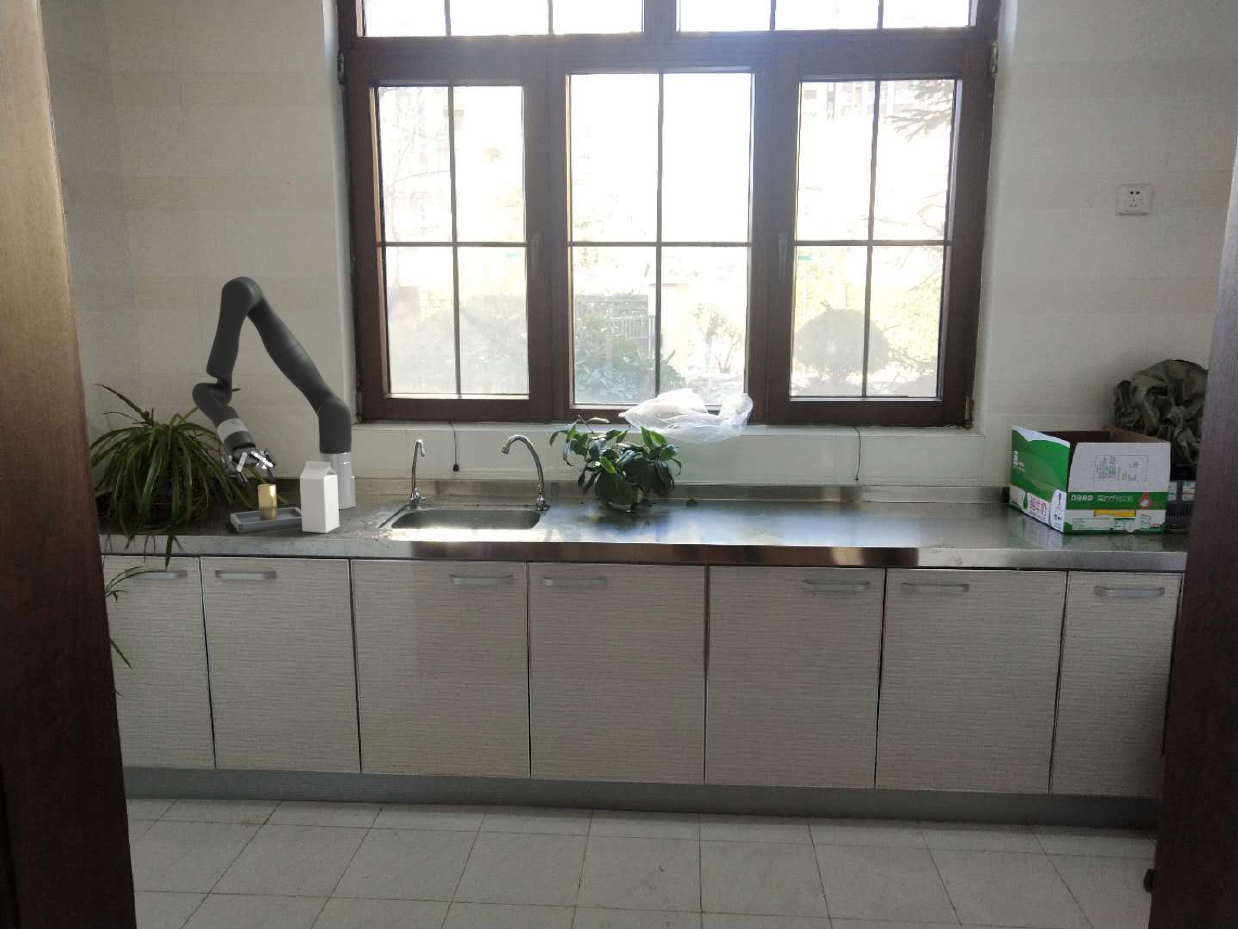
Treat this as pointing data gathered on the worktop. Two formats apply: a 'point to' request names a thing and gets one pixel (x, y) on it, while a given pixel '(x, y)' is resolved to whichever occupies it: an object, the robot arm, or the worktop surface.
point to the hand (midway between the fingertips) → (260, 482)
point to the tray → (252, 520)
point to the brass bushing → (267, 502)
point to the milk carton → (319, 497)
